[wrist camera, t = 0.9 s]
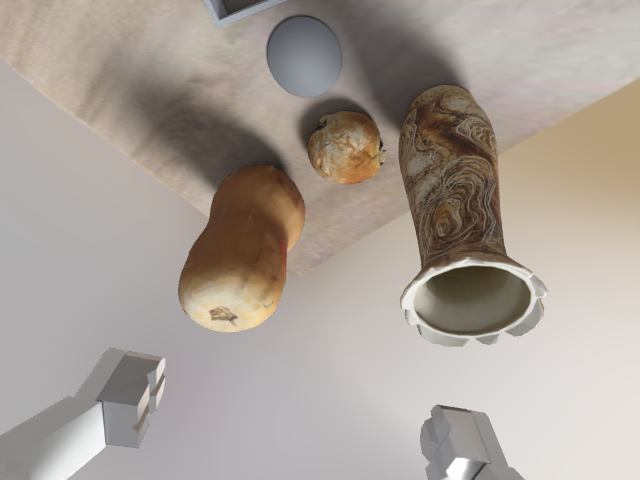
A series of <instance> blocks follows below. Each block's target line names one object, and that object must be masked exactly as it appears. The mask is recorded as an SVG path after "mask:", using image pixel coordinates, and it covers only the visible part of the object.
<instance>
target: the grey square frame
mask: <svg viewBox="0 0 640 480" xmlns="http://www.w3.org/2000/svg"><path fill="white" fill-rule="evenodd" d="M204 1H205V3H206V5H207V7H208V9H209V12H210V14H211V16H212V18H213V20H214V23H215V25H216V27H217V28H219V27H221V26H224V25H226V24H229V23H232V22H234V21H237V20H239V19H242V18H244V17H247V16H249V15H252V14H254V13H257V12H259V11H262V10H265V9H267V8H270V7H272V6H275V5H277V4H280V3H282V2H285V1H287V0H263V1H260V2H258V3H255V4H253V5H250V6H248V7H245V8H243V9H240V10H238V11H235V12H233V13H231V14H228V13H227V11H226V9H225V6H224V4H223V2H222V0H204Z"/></svg>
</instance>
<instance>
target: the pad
mask: <svg viewBox="0 0 640 480" xmlns="http://www.w3.org/2000/svg"><path fill="white" fill-rule="evenodd" d="M268 64H269V68H270V71H271V73H272V75H273V77H274V79H275V80H276V81H277V83H278V84H279V85H280V86H281V87H282V88H283V89H284V90H286V91H287V92H289V93H291V94H293V95H295V96H298V97H304V98H310V97H316V96H319V95H321V94H323V93H325V92H326V91H328V90H329V89H330V88H331V87H332V86H333V84H334V83H335V82H336V80H337V78H338V76H339V73H340V70H341V64H342V55H341V49H340V46H339V43H338V41H337V39H336V37H335V35H334V34H333V32H332V31H331V30H330V29H329V28H328V27H327V26H326V25H325V24H323V23H322V22H320V21H318V20H316V19H313V18H310V17H295V18H292V19H289V20H287V21H285V22H284V23H282V24H281V25H280V26H279V27H278V28H277V29H276V30H275V32H274V33H273V35H272V37H271V39H270V42H269V45H268Z"/></svg>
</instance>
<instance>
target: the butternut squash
mask: <svg viewBox="0 0 640 480" xmlns="http://www.w3.org/2000/svg"><path fill="white" fill-rule="evenodd" d="M304 221H305V205H304V201H303V198H302V196H301V194H300V192H299V190H298V188H297V186H296V185H295V183H294V182H293V181H292V180H291V179H290V178H289V177H287V175H286V174H285V172H284V171H283V170H282V169H277V168H275V167H273V165H254V166H246V167H242V168H240V169H237V170H233V171H232V172H231V174H230V175H229V176H228V177H227V178H226V179H225V180H224V181H223V182H222V184H221V185H220V187H219V188H218V190H217V192H216V193H215V195H214V197H213V201H212V205H211V210H210V218H209V222H208V224H207V226H206V228H205V229H204V231H203V232H202V233H201V235H200V236H199V237H198V239H197V240H196V241H195V243H194V245H193V246H192V248H191V250H190V252H189V256H188V258H187V261H186V263H185V265H184V268H183V270H182V272H181V276H180V281H179V287H178V295H179V301H180V304H181V306H182V308H183V310H184V312H185V313H186V314H187V315H188V316H189V317H190V318H191V319H192V320H194V321H195V322H197V323H198V324H199V325H201V326H204V327H206V328H208V329H212V330H216V331H222V332H234V331H241V330H245V329H249V328H253V327H255V326H257V325H259V324H261V323H262V322H263V321H265V320H266V319H267V317H269V316H270V315H271V314H272V313H273V312H274V311H275V309H276V307H277V305H278V302H279V299H280V297H281V294H282V291H283V288H284V285H285V282H286V258H287V252H288V251H289V250H290V249H291V248H292V247H293V246H294V245H295V243H296V242H297V240H298V238H299V236H300V233H301V231H302V229H303V226H304Z"/></svg>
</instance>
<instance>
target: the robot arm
mask: <svg viewBox="0 0 640 480" xmlns="http://www.w3.org/2000/svg"><path fill="white" fill-rule="evenodd" d="M165 366H166V364H165V358H162V357H157V356H152V355H147V354H142V353H137V352H132V351H127V350H121V349H116V348H109V349H108V350H107V351H106V352H105V353H104V354H103V356H102V357H101V359H100V360H99V361H98V363H97V364H96V366H95V367H94V369H93V370H92V372H91V373H90V374H89V376H88V377H87V379H86V380H85V382H84V383H83V384H82V386H81V387H80V389H79V390H78V392H77V393H76V395H75V396H74V397H69V396H68V397H66V398H64V399H63V400H61V401H59V402H57V403H56V404H54V405H52V406H51V407H49V408H47V409H45V410H44V411H42V412H40V413H39V414H37V415H35V416H33V417H32V418H30V419H28V420H27V421H25V422H23V423H21V424H20V425H18V426H16V427H14V428H13V429H11V430H9V431H8V432H6V433H4V434H2V435H1V436H0V480H67V479H68V478H69V477H70V476H71V475H72V474H74V473H75V472H76V471H77V470H78V469H80V468H81V467H82V466H83V465H84V464H86V463H87V462H88V461H89V460H90V459H91V458H93V457H94V456H95V455H96V454H97V453H99V452H100V451H101V450H102V449H103V448H104V447H106V444H107V445H115V446H123V447H132V448H139V446H140V444H141V442H142V440H143V438H144V436H145V434H146V431H147V429H148V427H149V415H150V414H152V413H153V412H154V411H156V409H157V407H158V405H159V402H160V400H161V397H162V394H163V391H164V385H165V376H164V375H163V374H162V373H163V371H164V368H165ZM431 415H432V418H430V419H428V420H426V421H425V422H424V424H423V426H422V428H421V434H420V443H421V449H422V453H423V455H424V456H425V457H426V459H427V460H428V461H429V462H428V464H427V467H426V473H427V477H428V480H524V479H523V477H522V476H521V475H520V474H519V473H518V472H517V471H516V470H515V469H514V468H511V467H508V464H507V461H506V459H505V457H504V455H503V452H502V449H501V447H500V445H499V442H498V440H497V437H496V435H495V432H494V430H493V428H492V425H491V423H490V420H489V418H488V416H487V415H486V414H485V413H482V412H477V411H471V410H467V409H461V408H455V407H448V406H442V405H436V406H434V407H433V409H432V410H431Z"/></svg>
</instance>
